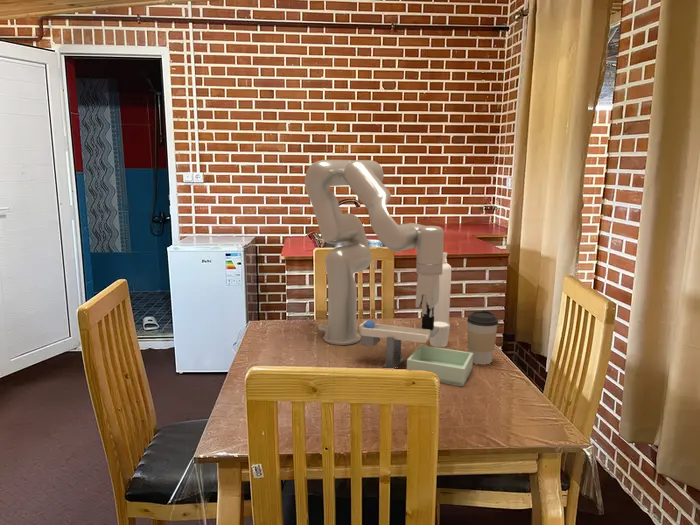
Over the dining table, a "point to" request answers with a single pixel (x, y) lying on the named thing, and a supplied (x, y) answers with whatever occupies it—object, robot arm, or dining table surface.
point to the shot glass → (440, 334)
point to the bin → (443, 363)
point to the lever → (394, 333)
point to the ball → (369, 324)
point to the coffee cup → (482, 336)
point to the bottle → (443, 293)
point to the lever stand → (393, 353)
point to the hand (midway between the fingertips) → (427, 328)
